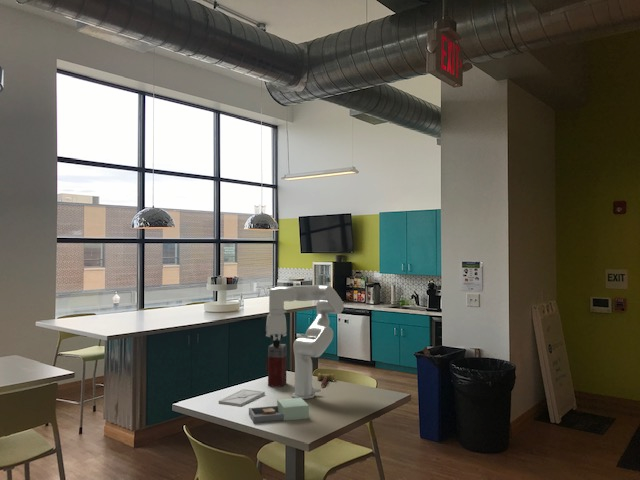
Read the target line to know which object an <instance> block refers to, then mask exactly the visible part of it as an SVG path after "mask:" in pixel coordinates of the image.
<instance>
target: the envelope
mask: <svg viewBox="0 0 640 480" xmlns="http://www.w3.org/2000/svg"><path fill="white" fill-rule="evenodd" d="M265 393H266V391H261V390H255V389H246V388H243V389H240V390H238V391H236V392H234V393H232V394H230V395H228V396H226V397H224V398H222V399H219V400H218V404H222V405H229V406H237V407H243V406H245V405H247V404H249V403H251V402H253V401H255V400H257V399H259V398H261V397H264V396H265Z"/></svg>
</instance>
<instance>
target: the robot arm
mask: <svg viewBox="0 0 640 480" xmlns="http://www.w3.org/2000/svg"><path fill="white" fill-rule="evenodd" d="M268 295H269V296H268V297H269V298H268V299H269V302H268V303H269V304H268V306H269V307H268V311H269V313H268V314H267V316H266V324H265V332H266V334H265V337H267V338H271V340H272V342H273V343H272V344H273V347H274V348H278V346H279V340H280V341H281V339H282V338H283V337H286V336H287V335H288V334H287V331H288V330H287V318H286V314H285V313H287V309H285V302H295V301H296V302H310V301H317V302H316V305H315V306H316V317H315V319H314V320H313V321H312V323H311V324H310V325H309V326H308V328H307V329H306V331H305V337H297V338H296V339H295V340H294V341H293V346H292V350H293V354H294V392H292V394H291V398H302V399H303V400H308V399H312V398H315V397H316V393H321V391H322V389H321V388H320V387H319V388H317V387H313V360H312V358H320V357H321V356H322V355H323V354H324V352H325V351H326V350H327V348H328V347H329V345H330V344H331V343H332V341H333V338H334V330H333V329H332V327H330V323H331V322H330V318H329V314H334V315H339V314H342V312H343V310H344V307H345V306H344V302H343V300H342V298H341V296H339V294H338V293H337V291H336V290H335V289H334V288H333V287H332V286H331V285H321V284H320V285H319V284H311V285H290V286H289V285H286V286H285V285H284V286H276V287H272V288H269V294H268ZM276 337H277V340H276ZM314 396H315V397H314Z"/></svg>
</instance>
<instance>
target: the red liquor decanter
mask: <svg viewBox="0 0 640 480" xmlns="http://www.w3.org/2000/svg"><path fill="white" fill-rule="evenodd" d="M275 337H276V340H277V336H275ZM267 348H268V349H267V351H268V352H267V353H268V354H267V357H266V360H265V361H266V363H265V364H266V367H265V369H266V370H265V372H266V373H267V386H268V387H280V388H281V387H284V386H285V385H286V384H287V360H288V359H287V355H288V354H287V353H288V352H287V351H288V350H287V344H286V343H281V339H280V340H279V346H278V348H274V347H273V343H272V344H270V345H268V347H267Z"/></svg>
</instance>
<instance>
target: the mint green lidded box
mask: <svg viewBox="0 0 640 480" xmlns="http://www.w3.org/2000/svg"><path fill="white" fill-rule="evenodd" d="M276 402H277V404H276V406H278V412H279V414H284V422H286V421H294V420H296V421H297V420H305V419H307V420H308V419H309V418H310V416H309V415H310V411H309V410H310V405H309V404H308V403H307V402H306V401H305V399H302V398H294V397H291V398H284V399H283V398H282V399H281V398H280V399H277V401H276ZM285 420H286V421H285Z"/></svg>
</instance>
